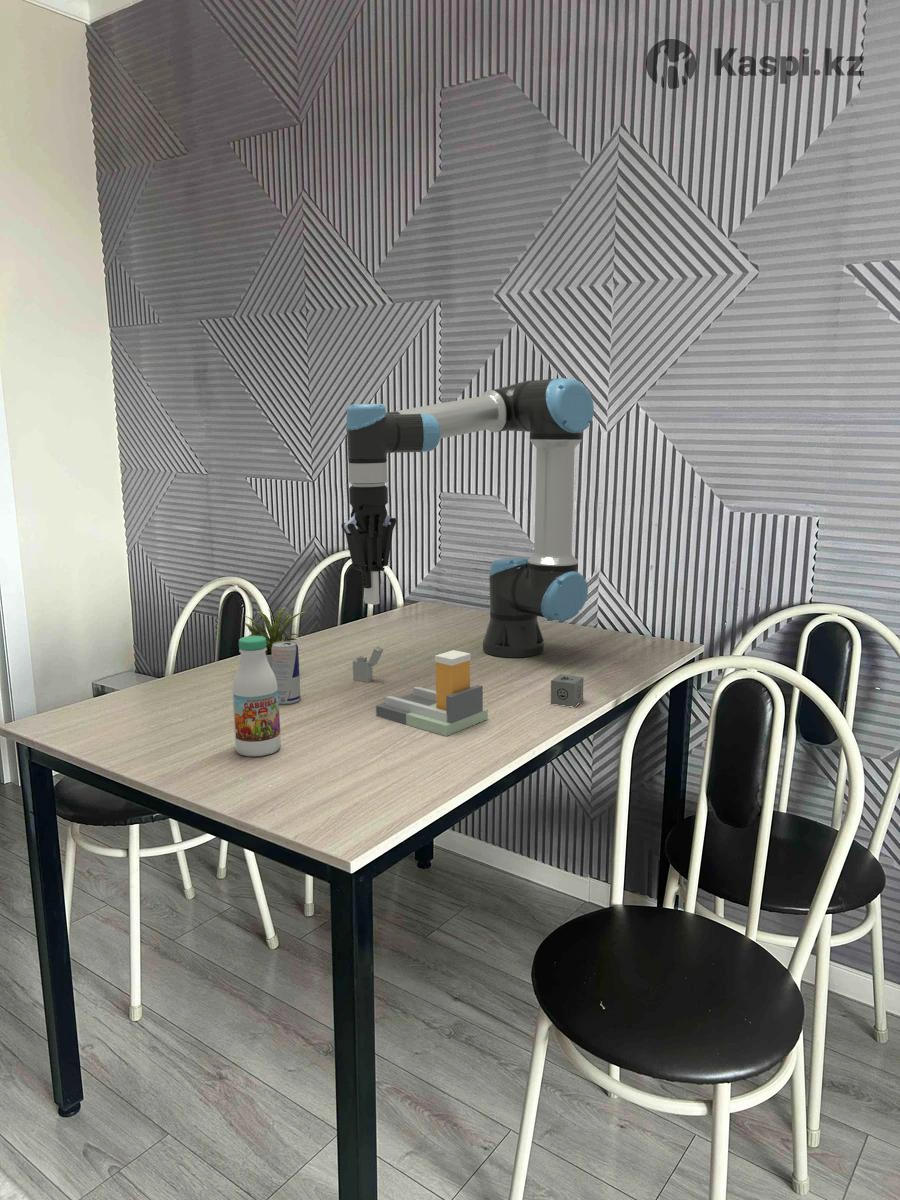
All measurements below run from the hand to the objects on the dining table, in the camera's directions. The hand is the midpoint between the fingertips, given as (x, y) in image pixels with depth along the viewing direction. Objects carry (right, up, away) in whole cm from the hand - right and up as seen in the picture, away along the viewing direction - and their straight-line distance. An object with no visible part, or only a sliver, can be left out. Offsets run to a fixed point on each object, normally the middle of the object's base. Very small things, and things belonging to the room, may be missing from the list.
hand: (372, 603), depth 178 cm
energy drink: (-18, -20, +4) cm, 27 cm away
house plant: (-23, -17, +21) cm, 35 cm away
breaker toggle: (+16, -20, -11) cm, 28 cm away
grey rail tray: (+12, -22, -7) cm, 26 cm away
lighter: (-2, -17, +17) cm, 25 cm away
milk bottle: (-18, -26, -23) cm, 39 cm away
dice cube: (+39, -20, +1) cm, 44 cm away
